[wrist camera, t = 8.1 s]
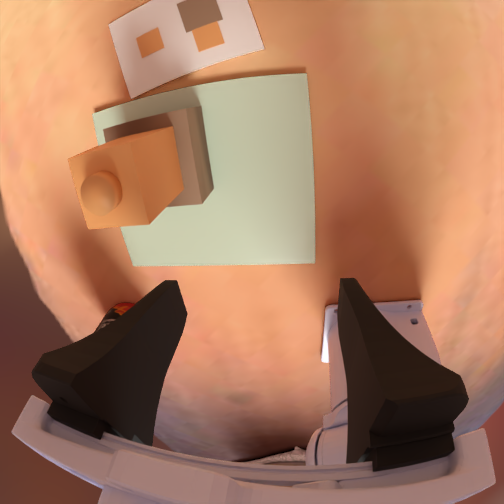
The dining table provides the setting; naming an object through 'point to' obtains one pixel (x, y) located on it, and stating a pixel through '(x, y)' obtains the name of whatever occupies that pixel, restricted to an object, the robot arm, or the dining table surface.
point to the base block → (179, 149)
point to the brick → (128, 179)
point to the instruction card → (181, 39)
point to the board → (235, 176)
